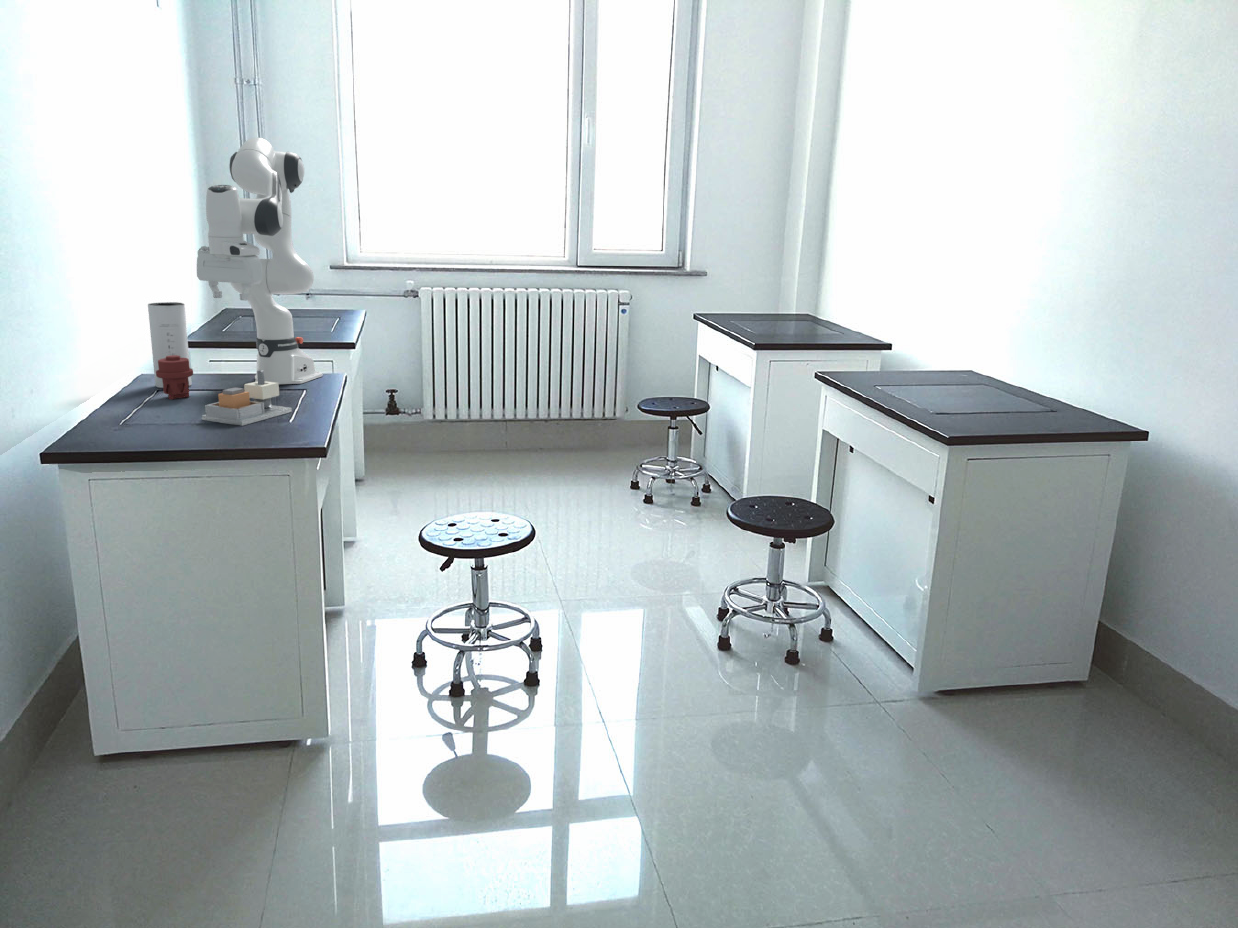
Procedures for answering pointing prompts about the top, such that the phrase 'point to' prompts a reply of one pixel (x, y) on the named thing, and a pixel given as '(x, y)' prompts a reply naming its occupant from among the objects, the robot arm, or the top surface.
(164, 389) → the mechanical component
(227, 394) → the block
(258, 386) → the square housing
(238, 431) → the top surface
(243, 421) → the chassis
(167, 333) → the speaker
